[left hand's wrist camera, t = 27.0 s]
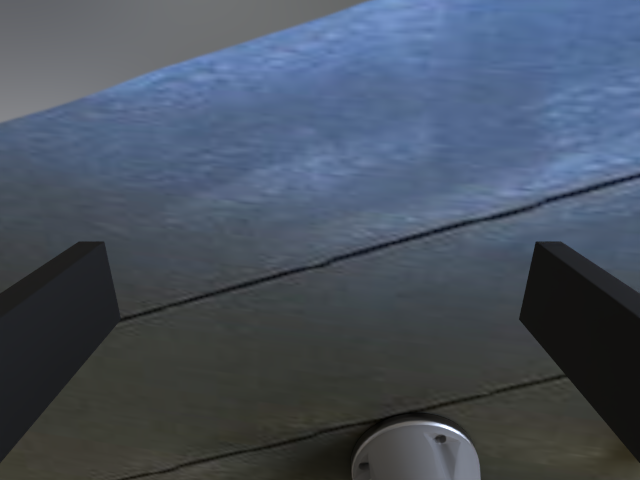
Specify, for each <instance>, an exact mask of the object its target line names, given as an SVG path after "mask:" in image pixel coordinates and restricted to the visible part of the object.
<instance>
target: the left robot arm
mask: <svg viewBox="0 0 640 480" xmlns="http://www.w3.org/2000/svg"><path fill="white" fill-rule="evenodd" d="M120 320H121V317H120V313H119V308H118V303H117V299H116V294H115V290H114V285H113V280H112V276H111V271H110V266H109V262H108V257H107V253H106V248H105V243H104V242H78V243H76V244H75V245H73V246H72V247H70V248H69V249H67V250H66V251H64V252H63V253H61V254H60V255H58V256H56V257H55V258H53V259H52V260H50V261H49V262H47V263H46V264H44V265H43V266H41V267H40V268H38V269H37V270H35V271H34V272H32V273H31V274H29V275H28V276H26V277H25V278H23V279H22V280H20V281H19V282H17V283H16V284H14V285H13V286H11V287H10V288H8V289H7V290H5V291H4V292H2V293H1V294H0V463H1V461H2V460H3V459H4V458H5V457H6V455H7V454H8V453H9V452H10V451H11V449H12V448H13V447H14V446H15V445H16V444H17V442H18V441H19V440H20V439H21V438H22V436H23V435H24V434H25V433H26V432H27V430H28V429H29V428H30V427H31V426H32V424H33V423H34V422H35V421H36V420H37V419H38V417H39V416H40V415H41V414H42V413H43V411H44V410H45V409H46V408H47V407H48V405H49V404H50V403H51V402H52V401H53V400H54V398H55V397H56V396H57V395H58V394H59V392H60V391H61V390H62V389H63V388H64V386H65V385H66V384H67V383H68V382H69V380H70V379H71V378H72V377H73V376H74V375H75V373H76V372H77V371H78V370H79V369H80V367H81V366H82V365H83V364H84V363H85V361H86V360H87V359H88V358H89V357H90V355H91V354H92V353H93V352H94V351H95V350H96V348H97V347H98V346H99V345H100V344H101V342H102V341H103V340H104V339H105V338H106V336H107V335H108V334H109V333H110V332H111V330H112V329H113V328H114V327H115V326H116V325H117V323H118V322H119V321H120ZM519 320H520V321H521V322H522V323H523V325H524V326H525V327H526V328H527V329H528V330H529V332H530V333H531V334H532V335H533V336H534V338H535V339H536V340H537V341H538V342H539V344H540V345H541V346H542V347H543V348H544V350H545V351H546V352H547V353H548V354H549V355H550V357H551V358H552V359H553V360H554V361H555V363H556V364H557V365H558V366H559V367H560V369H561V370H562V371H563V372H564V373H565V375H566V376H567V377H568V378H569V379H570V380H571V382H572V383H573V384H574V385H575V386H576V388H577V389H578V390H579V391H580V392H581V394H582V395H583V396H584V397H585V398H586V400H587V401H588V402H589V403H590V404H591V405H592V407H593V408H594V409H595V410H596V411H597V413H598V414H599V415H600V416H601V417H602V419H603V420H604V421H605V422H606V423H607V425H608V426H609V427H610V428H611V429H612V430H613V432H614V433H615V434H616V435H617V436H618V438H619V439H620V440H621V441H622V442H623V444H624V445H625V446H626V447H627V448H628V449H629V451H630V452H631V453H632V454H633V455H634V457H635V458H636V459H637V460H638V461H639V463H640V294H639V293H638V292H636V291H635V290H633V289H632V288H630V287H629V286H627V285H626V284H624V283H623V282H621V281H620V280H618V279H617V278H615V277H614V276H612V275H611V274H609V273H608V272H606V271H605V270H603V269H602V268H600V267H599V266H597V265H596V264H594V263H593V262H591V261H590V260H588V259H587V258H585V257H584V256H582V255H580V254H579V253H577V252H576V251H574V250H573V249H571V248H570V247H568V246H567V245H565V244H564V243H562V242H536V243H535V248H534V253H533V257H532V262H531V266H530V271H529V276H528V280H527V285H526V290H525V294H524V299H523V303H522V308H521V313H520V317H519ZM351 471H352V480H480V465H479V459H478V455H477V453H476V450H475V448H474V445H473V443H472V441H471V439H470V437H469V435H468V434H467V433H466V432H465V431H464V430H463V429H462V428H461V427H460V426H459V425H457V424H456V423H454V422H453V421H451V420H449V419H446V418H444V417H440V416H437V415H432V414H423V413H412V414H404V415H399V416H395V417H392V418H389V419H386V420H384V421H381V422H380V423H378V424H376V425H374V426H373V427H371V428H370V429H369V430H367V431H366V432H365V433H364V434H363V435H362V436H361V437H360V439H359V440H358V441H357V443H356V445H355V447H354V449H353V452H352V456H351Z"/></svg>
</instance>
